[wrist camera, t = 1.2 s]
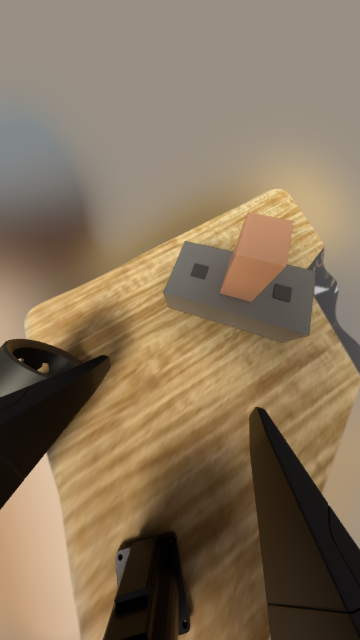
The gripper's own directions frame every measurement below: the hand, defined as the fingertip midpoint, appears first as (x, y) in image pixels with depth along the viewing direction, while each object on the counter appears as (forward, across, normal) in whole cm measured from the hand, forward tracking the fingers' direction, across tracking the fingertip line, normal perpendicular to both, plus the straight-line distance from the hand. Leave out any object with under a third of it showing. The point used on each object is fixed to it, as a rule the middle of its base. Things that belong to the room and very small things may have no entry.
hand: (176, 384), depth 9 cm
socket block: (+18, -4, 0) cm, 19 cm away
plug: (+18, -4, 0) cm, 19 cm away
